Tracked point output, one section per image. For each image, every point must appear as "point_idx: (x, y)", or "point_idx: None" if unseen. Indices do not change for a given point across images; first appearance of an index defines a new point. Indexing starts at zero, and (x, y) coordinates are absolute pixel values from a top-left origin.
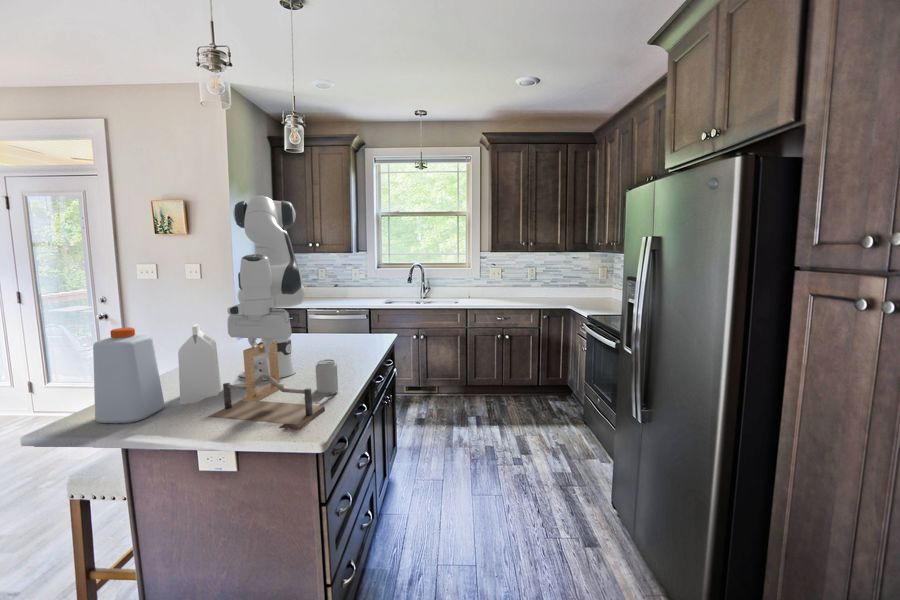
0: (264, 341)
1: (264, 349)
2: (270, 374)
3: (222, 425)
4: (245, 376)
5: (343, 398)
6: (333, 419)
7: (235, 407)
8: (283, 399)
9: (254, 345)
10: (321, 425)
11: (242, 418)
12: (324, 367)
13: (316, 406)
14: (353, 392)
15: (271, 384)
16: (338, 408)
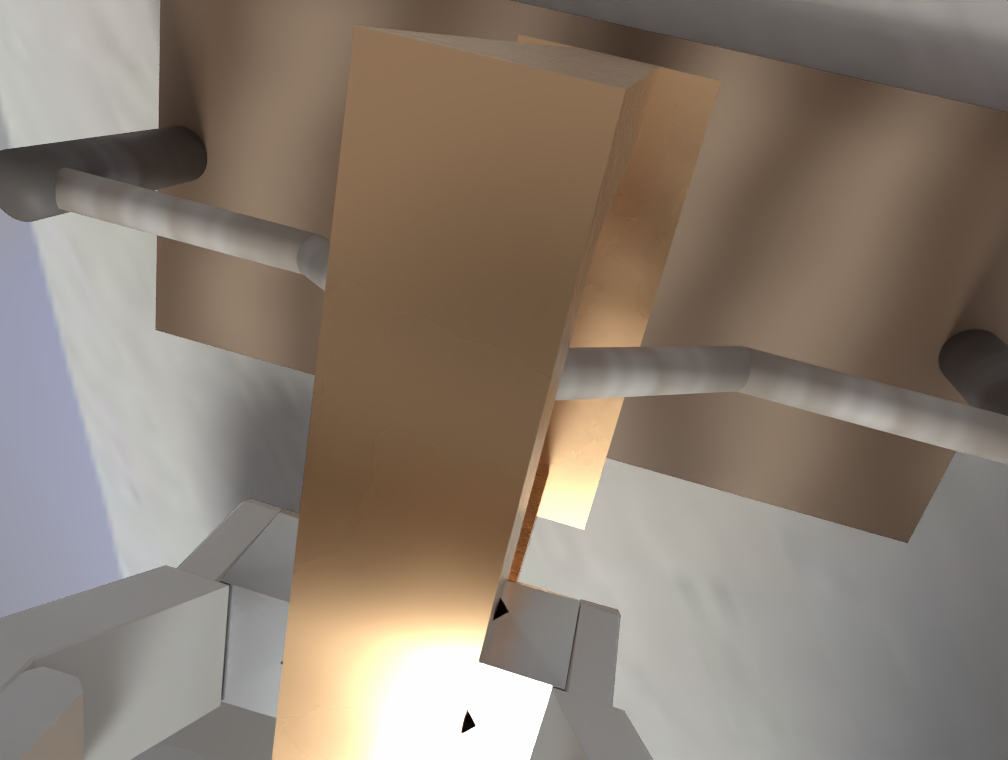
0: (77, 695)
1: (253, 546)
2: (526, 540)
3: (903, 24)
4: (643, 68)
5: (157, 527)
6: (39, 141)
7: (899, 359)
8: (576, 567)
9: (549, 747)
10: (64, 21)
11: (722, 76)
12: (159, 755)
13: (209, 325)
14: None
15: (541, 476)
16: (104, 349)
